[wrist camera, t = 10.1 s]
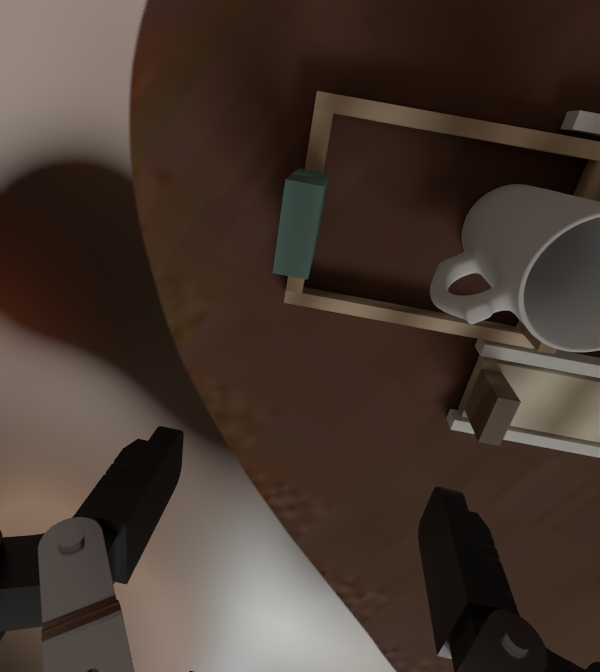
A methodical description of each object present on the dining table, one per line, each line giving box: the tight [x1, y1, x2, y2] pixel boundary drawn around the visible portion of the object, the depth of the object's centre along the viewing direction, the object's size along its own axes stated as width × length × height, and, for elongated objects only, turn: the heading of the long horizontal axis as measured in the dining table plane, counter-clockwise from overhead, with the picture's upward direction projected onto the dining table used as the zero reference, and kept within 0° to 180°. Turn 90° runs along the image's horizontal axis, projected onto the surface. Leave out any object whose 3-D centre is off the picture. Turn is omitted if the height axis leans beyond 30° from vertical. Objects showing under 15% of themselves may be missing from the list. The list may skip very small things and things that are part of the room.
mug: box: [430, 184, 600, 352], centre depth 25 cm, size 10×7×12 cm, turn 114°
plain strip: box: [458, 355, 600, 446], centre depth 32 cm, size 17×5×5 cm, turn 81°
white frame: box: [273, 91, 600, 354], centre depth 26 cm, size 19×14×8 cm
